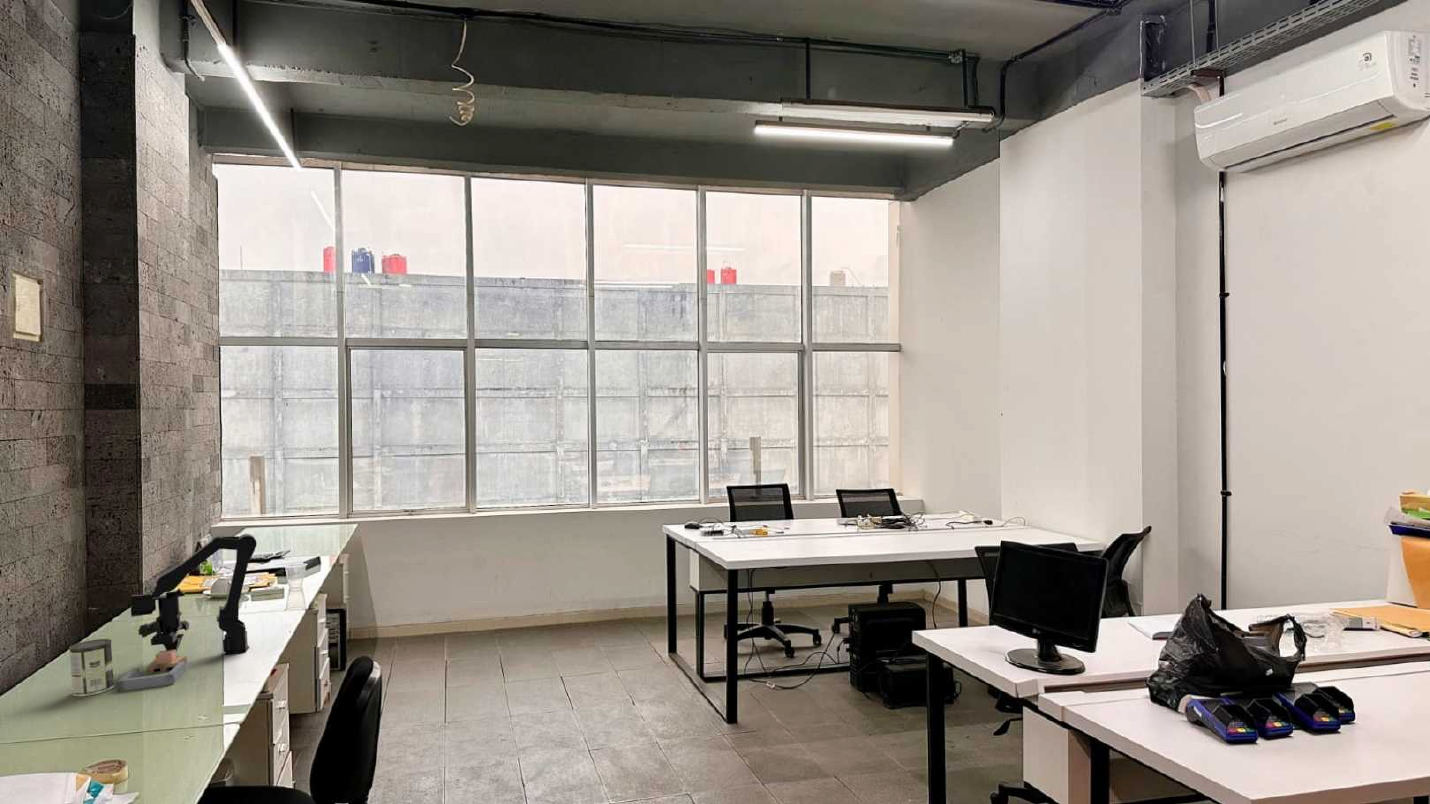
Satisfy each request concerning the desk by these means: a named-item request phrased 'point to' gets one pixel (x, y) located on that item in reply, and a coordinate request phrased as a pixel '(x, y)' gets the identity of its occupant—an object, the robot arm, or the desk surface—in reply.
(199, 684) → the desk surface
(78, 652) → the coffee can
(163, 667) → the pallet
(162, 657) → the salmon pink block
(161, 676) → the dock
